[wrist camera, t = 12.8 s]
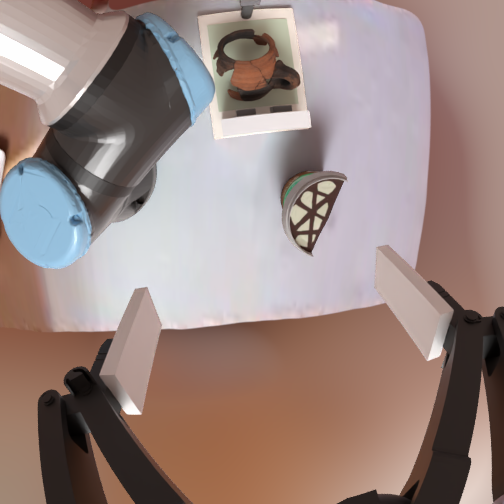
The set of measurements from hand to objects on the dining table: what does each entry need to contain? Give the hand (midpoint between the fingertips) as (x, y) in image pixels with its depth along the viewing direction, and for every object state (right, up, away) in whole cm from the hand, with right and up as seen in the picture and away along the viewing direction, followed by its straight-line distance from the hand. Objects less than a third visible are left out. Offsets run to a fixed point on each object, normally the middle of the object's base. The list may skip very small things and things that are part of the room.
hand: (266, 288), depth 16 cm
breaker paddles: (0, +21, +21) cm, 29 cm away
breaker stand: (-1, +29, +22) cm, 36 cm away
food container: (+6, +11, +30) cm, 33 cm away
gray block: (-2, +36, +17) cm, 40 cm away
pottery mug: (0, +28, +21) cm, 35 cm away
